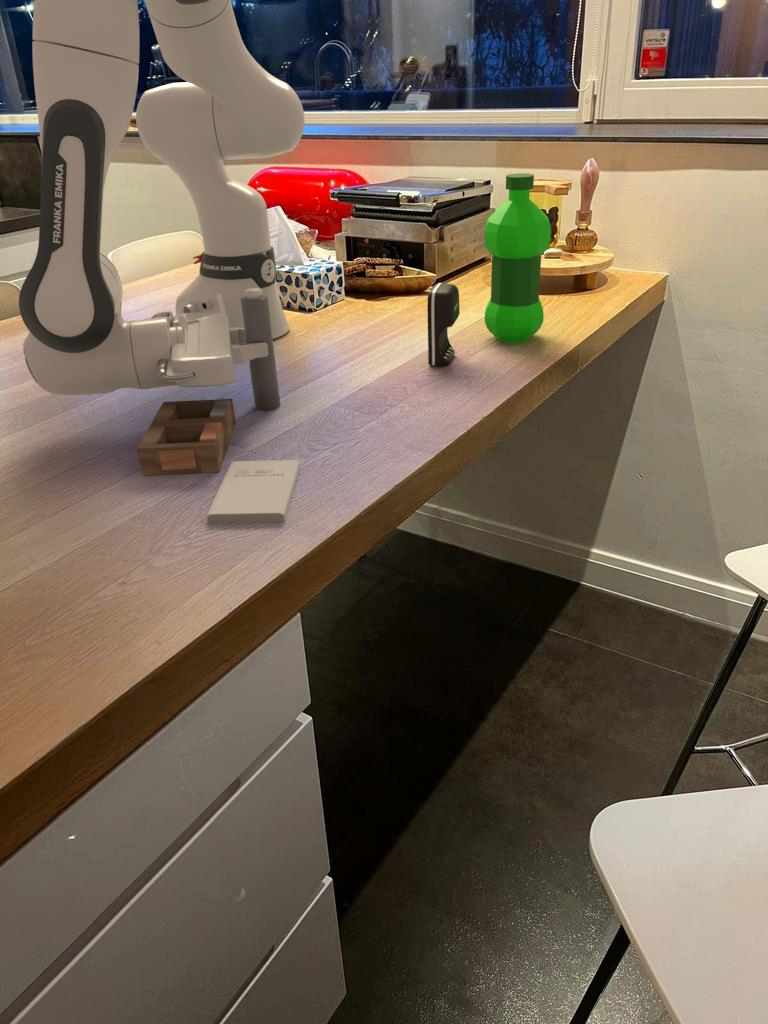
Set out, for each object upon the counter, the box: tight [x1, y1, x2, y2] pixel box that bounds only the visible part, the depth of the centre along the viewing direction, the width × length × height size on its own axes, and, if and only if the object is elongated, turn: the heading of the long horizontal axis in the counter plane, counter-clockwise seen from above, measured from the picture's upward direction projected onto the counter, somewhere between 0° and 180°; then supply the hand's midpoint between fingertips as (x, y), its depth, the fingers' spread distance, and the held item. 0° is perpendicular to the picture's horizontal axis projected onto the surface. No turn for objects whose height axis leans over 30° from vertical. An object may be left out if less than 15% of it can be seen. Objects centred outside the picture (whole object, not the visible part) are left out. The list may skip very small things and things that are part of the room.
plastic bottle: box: [483, 172, 552, 344], centre depth 123 cm, size 10×10×25 cm
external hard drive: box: [206, 459, 301, 524], centre depth 87 cm, size 2×8×12 cm
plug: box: [241, 288, 281, 412], centre depth 104 cm, size 4×4×16 cm
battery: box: [427, 282, 461, 367], centre depth 118 cm, size 7×4×11 cm, turn 165°
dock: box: [136, 398, 237, 477], centre depth 97 cm, size 14×9×4 cm, turn 1°
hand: (266, 341), depth 104 cm, fingers open, 4 cm apart
